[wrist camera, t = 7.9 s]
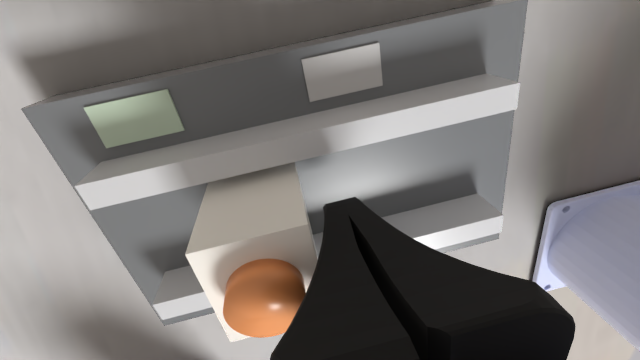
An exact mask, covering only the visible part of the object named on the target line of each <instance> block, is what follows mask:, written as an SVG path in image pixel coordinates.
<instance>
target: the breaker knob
mask: <svg viewBox="0 0 640 360" xmlns="http://www.w3.org/2000/svg"><path fill="white" fill-rule="evenodd" d="M185 256H186V258H187V259H188V261H189V263H190V265H191V267H192V269H193V271H194V273H195V275H196V277H197V279H198V281H199V282H200V284H201V286H202V288H203V290H204V292H205V294H206V296H207V298H208V300H209V302H210V304H211V306H212V307H213V309H214V311H215V313H216V315H217V317H218V319H219V321H220V323H221V325H222V327H223V329H224V330H225V332H226V334H227V336H228V338H229V340H230V342H234V341H238V340H242V339H246V338H249V337H271V336H276V335H279V334H282V333H285V332H286V331H287V329H288V327H289V325H290V324H291V322H292V320H293V318H294V316H295V314H296V312H297V310H298V309H299V307H300V305H301V303H302V301H303V299H304V296H305V294H306V292H307V289H308V287H309V284H310V282H311V279H312V276H313V274H314V271H315V267H316V264H317V261H318V256H317V252H316V247H315V243H314V239H313V234H312V230H311V226H310V222H309V218H308V214H307V209H306V205H305V201H304V197H303V193H302V189H301V185H300V181H299V177H298V173H297V169H296V165H295V162H292V163H288V164H284V165H279V166H275V167H271V168H267V169H263V170H258V171H254V172H250V173H246V174H241V175H237V176H233V177H229V178H225V179H220V180H216V181H212V182H208V185H207V188H206V191H205V194H204V197H203V200H202V203H201V206H200V209H199V213H198V216H197V219H196V222H195V225H194V228H193V231H192V234H191V237H190V240H189V244H188V247H187V250H186V253H185Z"/></svg>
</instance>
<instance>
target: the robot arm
mask: <svg viewBox="0 0 640 360" xmlns="http://www.w3.org/2000/svg"><path fill="white" fill-rule="evenodd" d="M323 210H324V231H323V238H322V244H321V248H320V253H319V257H318V261H317V264H316V267H315V271H314V274H313V276H312V279H311V282H310V284H309V287H308V289H307V292H306V294H305V296H304V299H303V301H302V303H301V305H300V307H299V309H298V310H297V312H296V314H295V316H294V318H293V320H292V322H291V324H290V325H289V327H288V329H287V331H286V332H285V334H284V335H283V337H282V338H281V340H280V342H279V343H278V345H277V346H276V348H275V349H274V351H273V352H272V354H271V358H270V360H566V359H567V356H568V353H569V350H570V347H571V345H572V342H573V339H574V333H575V323H574V320H573V317H572V316H571V315H570V314H569V313H568V312H567V311H566V310H565V309H564V308H563V307H562V306H561V305H560V304H559V303H558V302H557V301H556V300H555V299H554V298H553V297H552V296H551V295H550V294H549V293H547V292H546V291H550V290H554V289H557V288H561V287H565V286H567V287H568V288H569V289H570V290H571V291H572V292H574V293H575V294H576V295H577V296H578V297H579V298H580V299H581V300H582V301H584V302H585V303H586V304H587V305H588V306H589V307H590V308H591V309H593V310H594V311H595V312H596V313H597V314H598V315H599V316H600V317H601V318H603V319H604V320H605V321H606V322H607V323H608V324H609V325H610V326H612V327H613V328H614V329H615V330H616V331H617V332H618V333H619V334H620V335H622V336H623V337H624V338H625V339H626V340H627V341H628V342H629V343H631V344H632V345H633V346H634V347H635V348H636V349H637V350H638V351H639V352H640V180H639V181H635V182H631V183H627V184H623V185H619V186H615V187H611V188H607V189H603V190H600V191H596V192H592V193H588V194H584V195H580V196H576V197H572V198H568V199H564V200H561V201H557V202H554V203H552V204H550V205H549V207H548V209H547V212H546V217H545V222H544V227H543V232H542V237H541V241H540V246H539V251H538V256H537V261H536V266H535V271H534V275H533V280H532V281H529V280H525V279H521V278H517V277H513V276H509V275H505V274H501V273H497V272H494V271H491V270H487V269H484V268H481V267H478V266H475V265H472V264H469V263H466V262H464V261H461V260H458V259H456V258H453V257H451V256H448V255H446V254H443V253H441V252H439V251H437V250H434V249H432V248H430V247H428V246H426V245H424V244H422V243H420V242H418V241H416V240H415V239H413V238H411V237H409V236H408V235H406V234H405V233H403V232H401V231H400V230H398V229H397V228H395V227H394V226H392V225H391V224H389V223H388V222H387V221H385V220H384V219H382V218H381V217H380V216H378V215H377V214H376V213H375V212H373V211H372V210H371V209H370V208H368V207H367V206H366V205H365V204H364V203H362V202H361V201H360V200H359V199H358V198H356V197H352V198H348V199H344V200H340V201H336V202H332V203H328V204H325V205H324V207H323Z"/></svg>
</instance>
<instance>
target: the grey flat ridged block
mask: <svg viewBox="0 0 640 360" xmlns="http://www.w3.org/2000/svg"><path fill="white" fill-rule="evenodd" d="M527 3H528V0H494V1H489V2H485V3H480V4H475V5H471V6H466V7H462V8H457V9H452V10H448V11H443V12H438V13H434V14H429V15H425V16H420V17H415V18H411V19H406V20H402V21H397V22H392V23H388V24H383V25H378V26H374V27H369V28H365V29H360V30H355V31H351V32H346V33H342V34H337V35H332V36H328V37H323V38H318V39H314V40H309V41H305V42H300V43H295V44H291V45H286V46H282V47H277V48H272V49H268V50H263V51H258V52H254V53H249V54H245V55H240V56H235V57H231V58H226V59H222V60H217V61H212V62H208V63H203V64H198V65H194V66H189V67H185V68H180V69H175V70H171V71H166V72H162V73H157V74H152V75H148V76H143V77H138V78H134V79H129V80H125V81H120V82H115V83H111V84H106V85H102V86H97V87H92V88H88V89H83V90H79V91H74V92H69V93H65V94H60V95H55V96H52V97H50V98H47V99H45V100H42V101H39V102H37V103H34V104H32V105H29V106H27V107H24V108H22V109H21V110H22V111H23V113H24V114H25V116H26V117H27V119H28V120H29V122H30V123H31V125H32V126H33V128H34V129H35V131H36V132H37V134H38V135H39V137H40V138H41V140H42V141H43V143H44V144H45V146H46V147H47V149H48V150H49V152H50V153H51V155H52V156H53V158H54V159H55V161H56V162H57V164H58V166H59V167H60V169H61V170H62V172H63V173H64V175H65V176H66V178H67V179H68V181H69V182H70V184H71V185H72V187H73V188H74V190H75V191H76V193H77V194H78V196H79V197H80V199H81V200H82V202H83V203H84V205H85V206H86V208H87V209H88V211H89V212H90V214H91V215H92V217H93V218H94V220H95V222H96V223H97V225H98V226H99V228H100V229H101V231H102V232H103V234H104V235H105V237H106V238H107V240H108V241H109V243H110V244H111V246H112V247H113V249H114V250H115V252H116V253H117V255H118V256H119V258H120V259H121V261H122V262H123V264H124V265H125V267H126V268H127V270H128V271H129V273H130V274H131V276H132V278H133V279H134V281H135V282H136V284H137V285H138V287H139V288H140V290H141V291H142V293H143V294H144V296H145V297H146V299H147V300H148V302H149V303H150V305H151V306H152V308H153V309H154V311H155V312H156V314H157V315H158V317H159V318H160V320H161V321H162V323H163V324H164V326H165V325H169V324H173V323H177V322H180V321H184V320H188V319H192V318H196V317H200V316H204V315H207V314H211V313H215V311H214V309H213V307H212V306H211V304H210V302H209V300H208V298H207V296H206V294H205V292H204V290H203V288H202V286H201V284H200V282H199V281H198V279H197V277H196V275H195V273H194V271H193V269H192V267H191V265H190V263H189V261H188V259H187V258H186V256H185V253H186V250H187V247H188V244H189V240H190V237H191V234H192V231H193V228H194V225H195V222H196V219H197V216H198V213H199V209H200V206H201V203H202V200H203V197H204V194H205V191H206V188H207V185H208V182H212V181H216V180H220V179H225V178H229V177H233V176H237V175H241V174H246V173H250V172H254V171H258V170H263V169H267V168H271V167H275V166H279V165H284V164H288V163H292V162H295V165H296V169H297V173H298V177H299V181H300V185H301V189H302V193H303V197H304V201H305V205H306V209H307V214H308V218H309V222H310V226H311V230H312V234H313V239H314V243H315V247H316V252H317V256H318V257H319V253H320V248H321V244H322V238H323V231H324V210H323V207H324V205H325V204H328V203H332V202H336V201H340V200H344V199H348V198H352V197H356V198H358V199H359V200H360V201H361V202H362V203H364V204H365V205H366V206H367V207H368V208H370V209H371V210H372V211H373V212H375V213H376V214H377V215H378V216H380V217H381V218H382V219H384V220H385V221H387V222H388V223H389V224H391V225H392V226H394V227H395V228H397V229H398V230H400V231H401V232H403V233H405V234H406V235H408V236H409V237H411V238H413V239H415V240H416V241H418V242H420V243H422V244H424V245H426V246H428V247H430V248H432V249H434V250H437V251H439V252H441V253H446V252H450V251H454V250H457V249H461V248H465V247H469V246H473V245H477V244H481V243H484V242H488V241H492V240H496V239H499V233H501V232H502V225H503V217H504V215H503V214H502V208H503V200H504V192H505V183H506V175H507V167H508V159H509V151H510V142H511V134H512V126H513V118H514V110H515V109H517V106H518V98H519V90H520V82H518V77H519V69H520V60H521V52H522V44H523V36H524V28H525V19H526V11H527Z"/></svg>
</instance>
